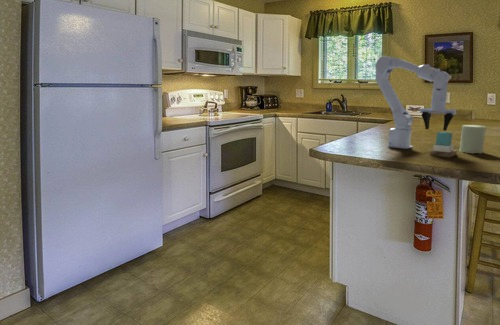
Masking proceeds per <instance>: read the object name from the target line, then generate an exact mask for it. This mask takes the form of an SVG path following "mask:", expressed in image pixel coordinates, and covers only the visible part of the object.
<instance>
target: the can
mask: <svg viewBox="0 0 500 325" xmlns="http://www.w3.org/2000/svg"><path fill="white" fill-rule="evenodd" d="M461 127H462V128H461V134H460V135H461V136H460V144H459V152H460V153H464V152H465V153H467V154H474V153H479V154H483V153H484V145H485V144H484V143H485V136H486V131H487V130H486V129H487V126H485V125H481V124H480V125H479V124H478V125H477V124H463V125H462V126H461ZM465 153H464V154H465Z"/></svg>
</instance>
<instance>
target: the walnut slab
mask: <svg viewBox="0 0 500 325" xmlns="http://www.w3.org/2000/svg"><path fill="white" fill-rule="evenodd" d="M457 153H458V151H457V150H455V149H453V151H451V152H440V151H433V149H432V150H429V155H430V156H434V157H444V158H452V156H453V157H455V156H457ZM454 155H455V156H454Z"/></svg>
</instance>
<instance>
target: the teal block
mask: <svg viewBox="0 0 500 325" xmlns="http://www.w3.org/2000/svg"><path fill="white" fill-rule="evenodd" d="M452 139H453V132H447V131H440V132H437V133H436V138H435V144H436V145H444V146H448V145H452Z"/></svg>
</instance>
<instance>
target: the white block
mask: <svg viewBox="0 0 500 325" xmlns="http://www.w3.org/2000/svg"><path fill="white" fill-rule="evenodd" d="M432 150H433V151H440V152H451V151H453V150H454V144H451V145H448V146H444V145H436V143H435V144H434V145H433V149H432Z"/></svg>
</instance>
